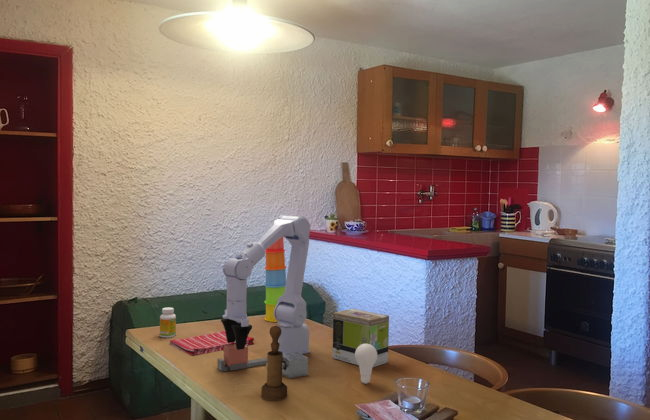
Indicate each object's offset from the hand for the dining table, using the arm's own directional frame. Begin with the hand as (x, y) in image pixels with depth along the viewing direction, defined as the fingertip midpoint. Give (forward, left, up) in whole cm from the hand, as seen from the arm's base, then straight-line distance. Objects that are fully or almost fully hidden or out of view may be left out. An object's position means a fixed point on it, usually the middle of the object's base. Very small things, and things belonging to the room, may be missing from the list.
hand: (235, 345), depth 165 cm
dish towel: (-2, -27, -7) cm, 28 cm away
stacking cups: (-36, -49, -7) cm, 61 cm away
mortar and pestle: (-1, +25, -7) cm, 26 cm away
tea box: (-37, +10, -7) cm, 39 cm away
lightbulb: (-27, +28, -7) cm, 40 cm away
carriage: (0, 0, -7) cm, 7 cm away
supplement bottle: (+9, -43, -7) cm, 44 cm away
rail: (-4, 0, -7) cm, 8 cm away
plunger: (-8, +12, -5) cm, 15 cm away
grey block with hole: (-13, +12, -7) cm, 19 cm away
